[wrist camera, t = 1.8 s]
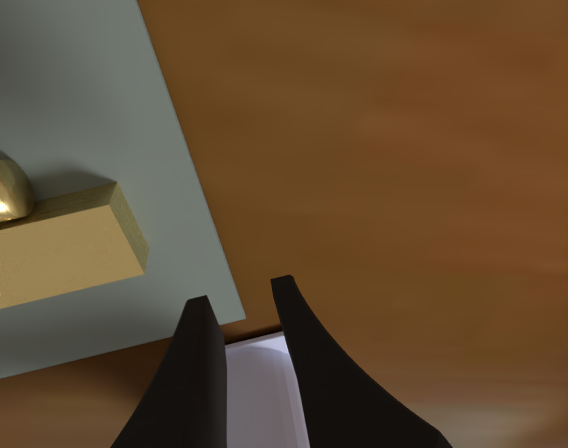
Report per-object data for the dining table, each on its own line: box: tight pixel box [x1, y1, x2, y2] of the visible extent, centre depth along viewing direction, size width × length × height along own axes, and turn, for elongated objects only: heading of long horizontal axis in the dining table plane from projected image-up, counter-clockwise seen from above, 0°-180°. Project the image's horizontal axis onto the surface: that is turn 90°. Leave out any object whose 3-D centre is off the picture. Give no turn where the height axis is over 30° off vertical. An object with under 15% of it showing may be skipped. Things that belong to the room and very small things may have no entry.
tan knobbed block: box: [0, 160, 149, 309], centre depth 18 cm, size 9×6×2 cm
